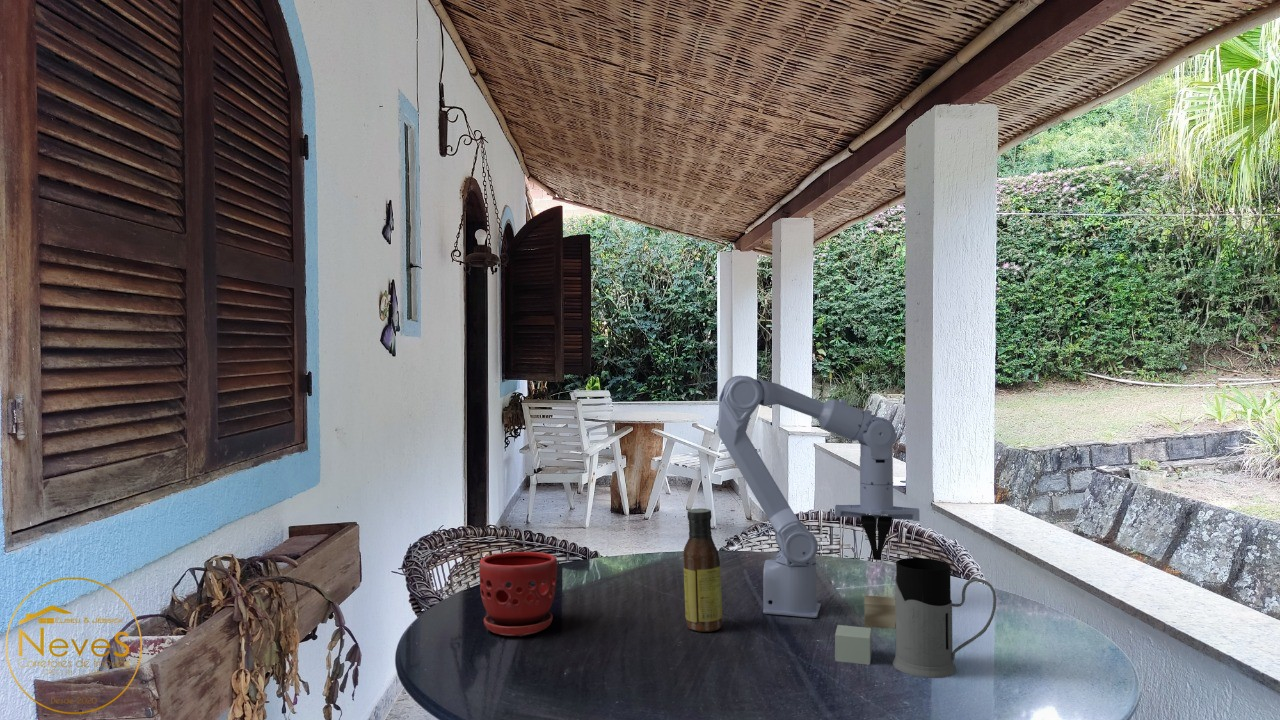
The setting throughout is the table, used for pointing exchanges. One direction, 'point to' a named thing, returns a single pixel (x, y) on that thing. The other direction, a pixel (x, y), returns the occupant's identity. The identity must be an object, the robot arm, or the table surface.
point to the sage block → (853, 644)
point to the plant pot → (518, 591)
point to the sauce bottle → (702, 575)
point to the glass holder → (927, 618)
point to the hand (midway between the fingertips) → (877, 558)
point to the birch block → (880, 612)
